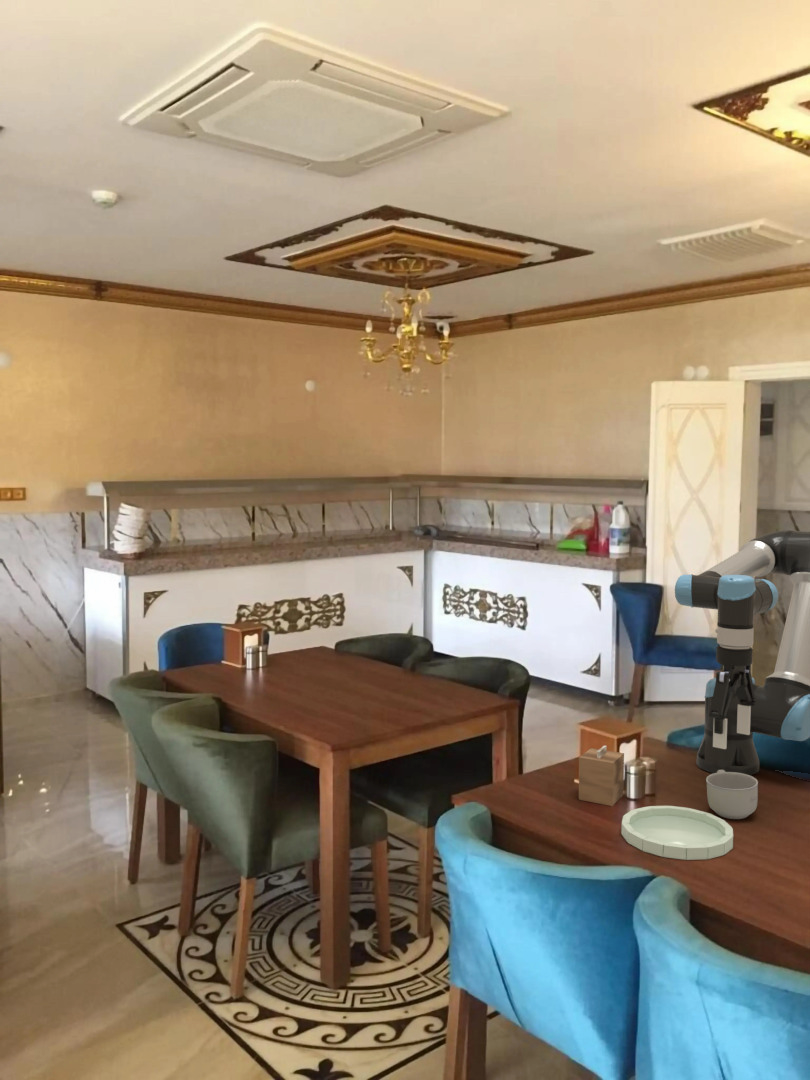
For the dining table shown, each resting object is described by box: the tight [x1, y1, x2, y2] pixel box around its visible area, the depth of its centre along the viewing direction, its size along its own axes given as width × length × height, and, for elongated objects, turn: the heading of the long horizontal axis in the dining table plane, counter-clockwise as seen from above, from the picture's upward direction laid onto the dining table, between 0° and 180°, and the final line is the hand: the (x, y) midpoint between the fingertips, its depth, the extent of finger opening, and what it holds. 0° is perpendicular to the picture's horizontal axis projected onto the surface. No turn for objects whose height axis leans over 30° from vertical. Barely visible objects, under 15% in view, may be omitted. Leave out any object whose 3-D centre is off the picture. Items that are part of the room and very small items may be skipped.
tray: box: [620, 805, 734, 861], centre depth 191 cm, size 22×22×2 cm
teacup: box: [705, 770, 759, 820], centre depth 205 cm, size 14×11×8 cm
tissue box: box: [578, 745, 625, 807], centre depth 213 cm, size 8×8×12 cm
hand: (731, 740), depth 204 cm, fingers open, 13 cm apart
